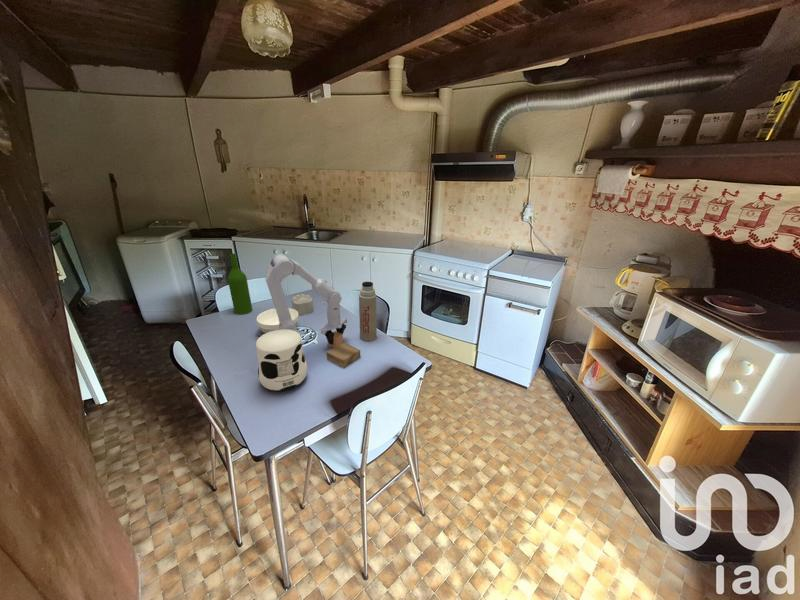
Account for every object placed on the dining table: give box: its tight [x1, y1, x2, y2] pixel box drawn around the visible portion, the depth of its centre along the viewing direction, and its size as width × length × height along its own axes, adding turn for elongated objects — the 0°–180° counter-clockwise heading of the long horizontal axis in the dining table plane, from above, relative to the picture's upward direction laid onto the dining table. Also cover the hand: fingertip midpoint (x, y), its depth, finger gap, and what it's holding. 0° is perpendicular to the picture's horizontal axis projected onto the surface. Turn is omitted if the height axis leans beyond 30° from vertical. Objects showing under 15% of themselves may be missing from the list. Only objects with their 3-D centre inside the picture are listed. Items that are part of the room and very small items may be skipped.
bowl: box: [256, 307, 299, 334], centre depth 150 cm, size 19×19×9 cm
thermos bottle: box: [358, 281, 377, 342], centre depth 144 cm, size 8×8×28 cm
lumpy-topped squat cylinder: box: [291, 293, 314, 317], centre depth 173 cm, size 10×13×9 cm
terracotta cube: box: [326, 330, 344, 348], centre depth 142 cm, size 5×5×5 cm
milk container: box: [255, 329, 308, 392], centre depth 114 cm, size 17×17×18 cm
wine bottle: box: [227, 253, 253, 316], centre depth 164 cm, size 9×9×32 cm
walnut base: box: [326, 341, 361, 369], centre depth 132 cm, size 10×10×4 cm
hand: (335, 341), depth 142 cm, fingers closed on terracotta cube, 5 cm apart
